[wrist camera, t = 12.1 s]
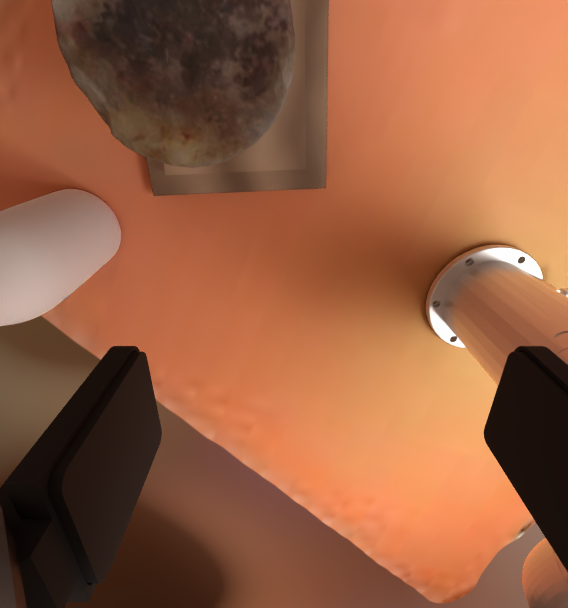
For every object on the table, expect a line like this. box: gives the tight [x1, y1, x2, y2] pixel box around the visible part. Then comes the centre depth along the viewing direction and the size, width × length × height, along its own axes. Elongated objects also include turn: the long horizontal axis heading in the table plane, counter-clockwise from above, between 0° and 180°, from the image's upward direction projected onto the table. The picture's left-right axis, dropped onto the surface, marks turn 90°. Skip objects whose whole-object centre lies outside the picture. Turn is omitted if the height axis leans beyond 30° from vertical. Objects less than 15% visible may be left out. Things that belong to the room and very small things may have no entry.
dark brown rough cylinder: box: [52, 0, 296, 168], centre depth 19 cm, size 8×7×20 cm
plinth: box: [146, 0, 329, 196], centre depth 30 cm, size 16×16×4 cm
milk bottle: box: [0, 189, 121, 326], centre depth 27 cm, size 8×8×20 cm
